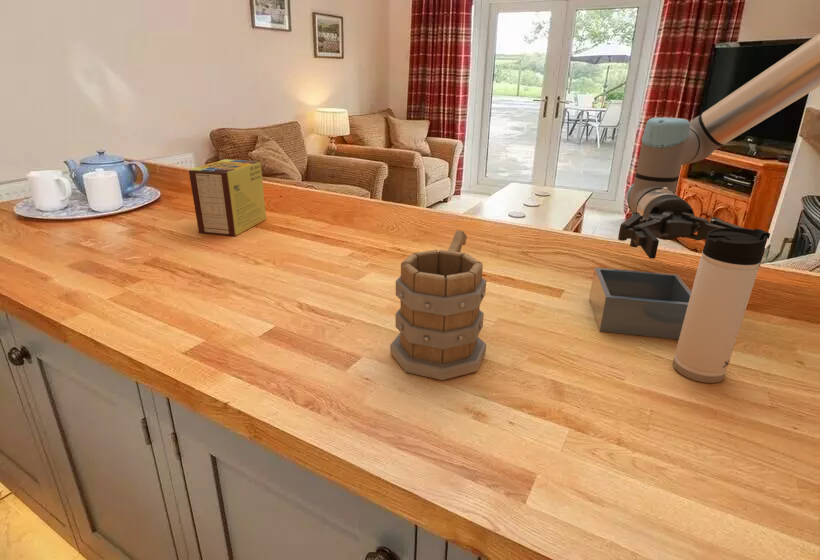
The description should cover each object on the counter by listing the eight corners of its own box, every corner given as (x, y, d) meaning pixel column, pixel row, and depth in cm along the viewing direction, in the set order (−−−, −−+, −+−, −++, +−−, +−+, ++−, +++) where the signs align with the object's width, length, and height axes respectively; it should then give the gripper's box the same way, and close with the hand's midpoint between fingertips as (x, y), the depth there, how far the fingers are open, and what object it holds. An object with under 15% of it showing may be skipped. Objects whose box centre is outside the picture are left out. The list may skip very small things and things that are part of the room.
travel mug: (736, 384, 64) (784, 239, 56) (686, 383, 64) (727, 237, 56) (710, 358, 70) (750, 223, 62) (664, 357, 70) (698, 222, 62)
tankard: (470, 387, 63) (478, 279, 57) (379, 367, 67) (378, 264, 61) (500, 320, 80) (508, 231, 74) (426, 307, 84) (429, 222, 78)
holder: (670, 305, 86) (678, 274, 84) (693, 341, 75) (703, 305, 72) (589, 298, 88) (594, 267, 86) (599, 331, 77) (606, 296, 75)
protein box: (267, 219, 132) (261, 160, 125) (235, 236, 118) (227, 171, 112) (232, 216, 134) (224, 158, 128) (197, 232, 120) (186, 168, 114)
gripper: (595, 189, 89) (617, 221, 69) (747, 197, 84) (815, 234, 65) (588, 229, 92) (607, 270, 72) (735, 239, 87) (796, 286, 68)
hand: (706, 253), depth 69 cm, fingers open, 13 cm apart
